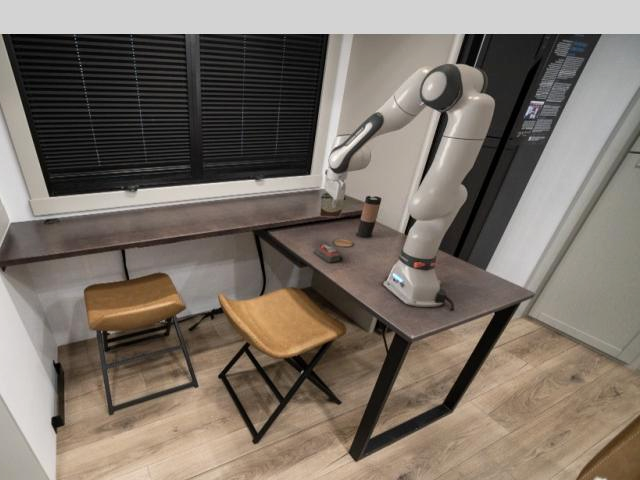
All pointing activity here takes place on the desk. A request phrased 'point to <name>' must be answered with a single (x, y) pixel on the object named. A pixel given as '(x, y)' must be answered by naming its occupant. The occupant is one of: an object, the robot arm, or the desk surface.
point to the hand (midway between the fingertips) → (331, 204)
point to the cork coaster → (343, 243)
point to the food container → (327, 208)
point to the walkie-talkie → (328, 253)
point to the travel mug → (369, 216)
